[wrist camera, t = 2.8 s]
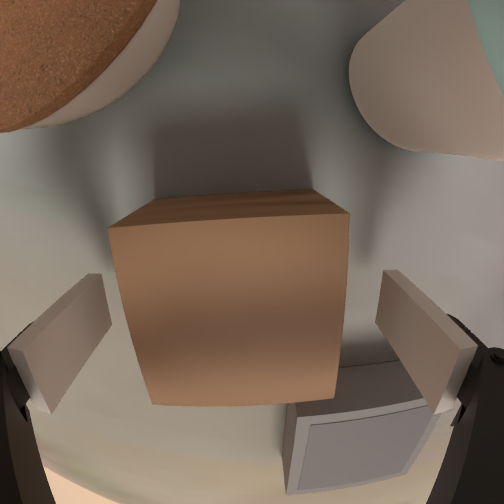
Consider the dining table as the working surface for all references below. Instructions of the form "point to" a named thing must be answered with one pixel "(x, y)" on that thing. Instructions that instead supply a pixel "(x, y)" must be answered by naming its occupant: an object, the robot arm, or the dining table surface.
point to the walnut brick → (235, 296)
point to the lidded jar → (75, 55)
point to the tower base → (356, 431)
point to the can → (435, 77)
